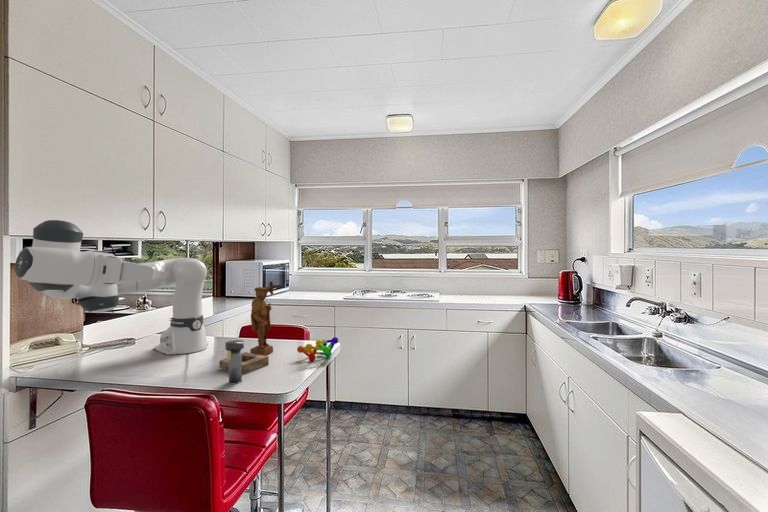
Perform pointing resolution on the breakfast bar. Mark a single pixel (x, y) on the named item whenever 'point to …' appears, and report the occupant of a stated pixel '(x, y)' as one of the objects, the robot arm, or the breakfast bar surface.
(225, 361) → the wooden stand
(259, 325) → the sculpture
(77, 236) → the robot arm
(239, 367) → the knob stem
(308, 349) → the decorative model
